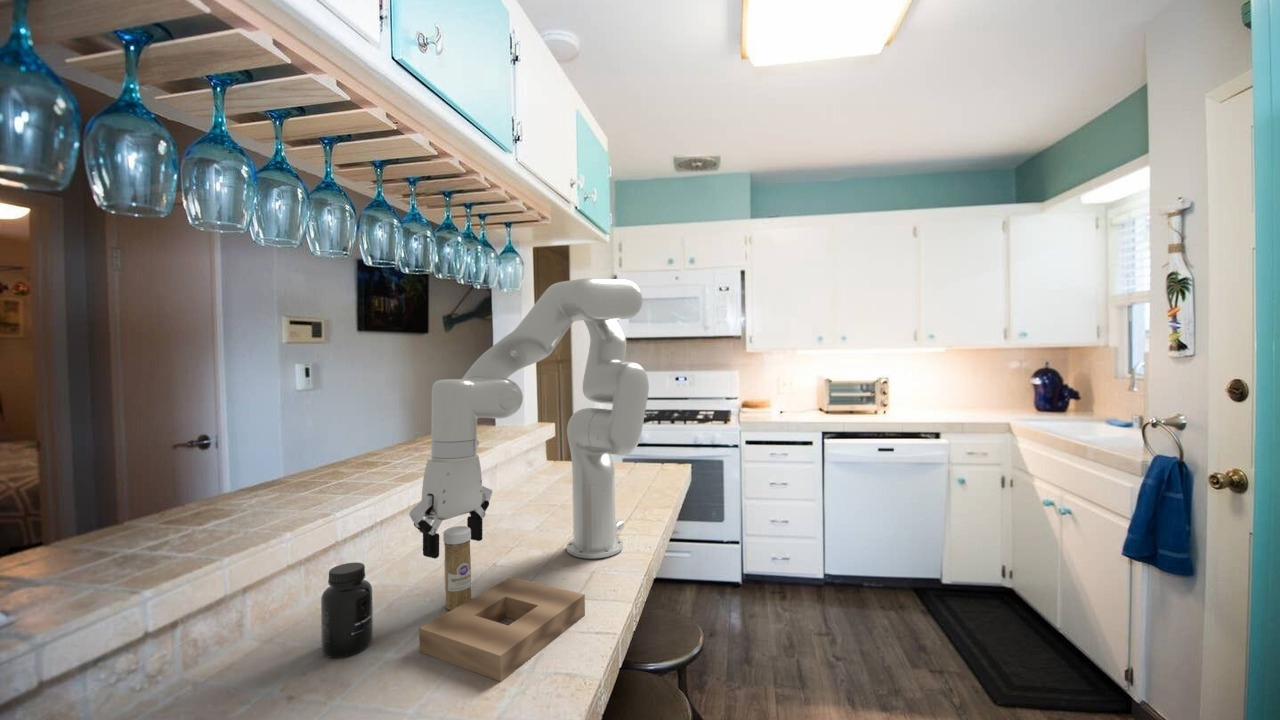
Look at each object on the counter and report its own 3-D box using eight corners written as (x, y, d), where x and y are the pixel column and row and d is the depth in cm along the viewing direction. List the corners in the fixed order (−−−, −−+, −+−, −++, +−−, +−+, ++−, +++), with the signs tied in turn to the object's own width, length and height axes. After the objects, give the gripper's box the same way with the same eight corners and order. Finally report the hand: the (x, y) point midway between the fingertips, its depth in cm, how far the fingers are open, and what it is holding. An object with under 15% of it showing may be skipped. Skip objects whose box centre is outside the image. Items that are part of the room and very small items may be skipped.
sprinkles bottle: (457, 614, 89) (455, 535, 89) (439, 608, 91) (437, 531, 91) (477, 602, 93) (476, 527, 93) (459, 597, 95) (458, 523, 95)
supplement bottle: (368, 654, 77) (366, 574, 77) (315, 663, 75) (313, 580, 75) (377, 631, 84) (375, 557, 84) (329, 638, 82) (327, 562, 82)
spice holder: (512, 595, 96) (511, 576, 96) (585, 615, 88) (584, 594, 88) (419, 651, 78) (419, 628, 78) (500, 681, 70) (500, 655, 70)
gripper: (475, 441, 101) (475, 530, 101) (396, 455, 86) (396, 560, 86) (505, 444, 98) (504, 536, 97) (428, 459, 82) (427, 568, 82)
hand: (453, 547), depth 92 cm, fingers open, 9 cm apart
